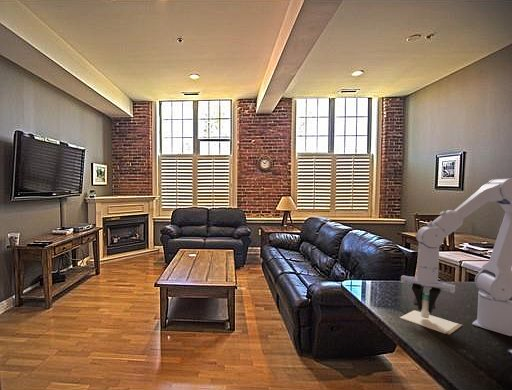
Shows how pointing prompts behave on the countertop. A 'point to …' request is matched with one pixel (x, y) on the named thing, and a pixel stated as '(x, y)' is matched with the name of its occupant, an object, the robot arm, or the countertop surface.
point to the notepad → (432, 322)
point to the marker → (425, 305)
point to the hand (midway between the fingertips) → (425, 310)
